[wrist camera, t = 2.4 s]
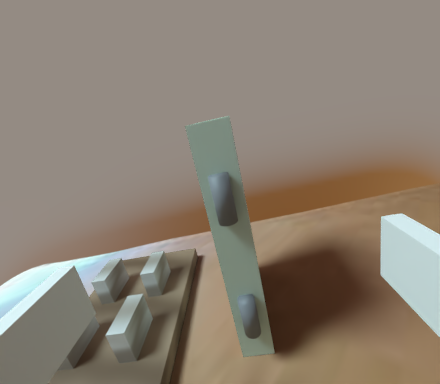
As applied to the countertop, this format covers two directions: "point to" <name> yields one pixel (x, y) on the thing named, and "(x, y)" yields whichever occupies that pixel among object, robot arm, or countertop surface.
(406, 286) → the robot arm
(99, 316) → the hinge base
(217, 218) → the door
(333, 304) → the countertop surface
